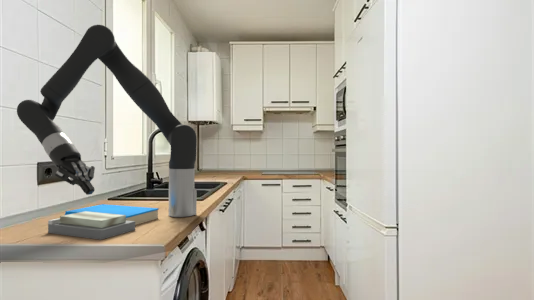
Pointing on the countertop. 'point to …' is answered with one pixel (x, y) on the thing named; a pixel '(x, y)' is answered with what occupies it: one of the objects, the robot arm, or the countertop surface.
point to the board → (89, 229)
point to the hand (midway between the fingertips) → (91, 192)
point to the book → (122, 212)
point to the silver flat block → (93, 219)
